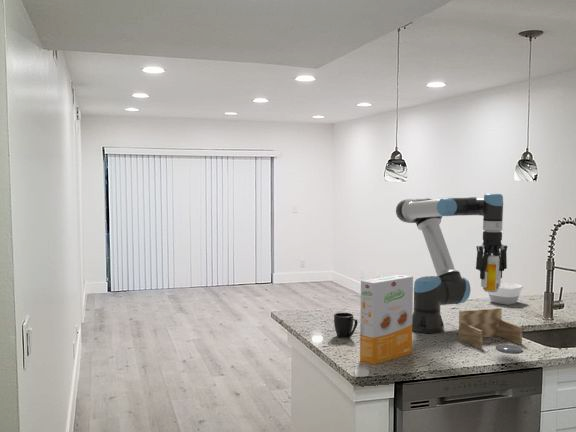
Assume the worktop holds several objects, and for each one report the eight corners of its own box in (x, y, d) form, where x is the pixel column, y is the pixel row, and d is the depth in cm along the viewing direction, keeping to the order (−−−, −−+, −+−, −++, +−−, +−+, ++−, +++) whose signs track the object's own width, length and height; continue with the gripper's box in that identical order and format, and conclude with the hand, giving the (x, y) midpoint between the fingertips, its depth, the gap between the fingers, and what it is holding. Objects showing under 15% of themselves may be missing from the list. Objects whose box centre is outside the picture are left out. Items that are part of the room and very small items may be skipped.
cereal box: (399, 349, 231) (400, 274, 229) (411, 352, 226) (413, 276, 225) (360, 360, 217) (360, 280, 215) (372, 364, 212) (373, 283, 210)
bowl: (497, 297, 334) (498, 281, 333) (527, 302, 320) (527, 285, 319) (480, 301, 322) (481, 284, 321) (510, 307, 309) (511, 289, 308)
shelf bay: (479, 348, 233) (480, 318, 232) (458, 338, 247) (459, 310, 246) (521, 344, 239) (522, 315, 238) (499, 335, 253) (499, 307, 252)
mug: (348, 342, 241) (348, 319, 240) (330, 335, 251) (330, 314, 250) (363, 339, 246) (363, 317, 245) (344, 333, 255) (344, 311, 255)
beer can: (486, 289, 246) (487, 253, 245) (500, 290, 242) (501, 255, 241) (480, 291, 241) (481, 255, 240) (495, 293, 238) (496, 256, 236)
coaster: (506, 354, 225) (506, 352, 225) (490, 347, 235) (490, 345, 235) (528, 351, 228) (528, 350, 228) (511, 344, 238) (511, 343, 238)
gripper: (478, 232, 234) (476, 289, 235) (517, 231, 239) (515, 286, 241) (467, 230, 241) (465, 286, 242) (505, 229, 246) (504, 283, 248)
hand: (490, 286), depth 242 cm, fingers closed on beer can, 6 cm apart
